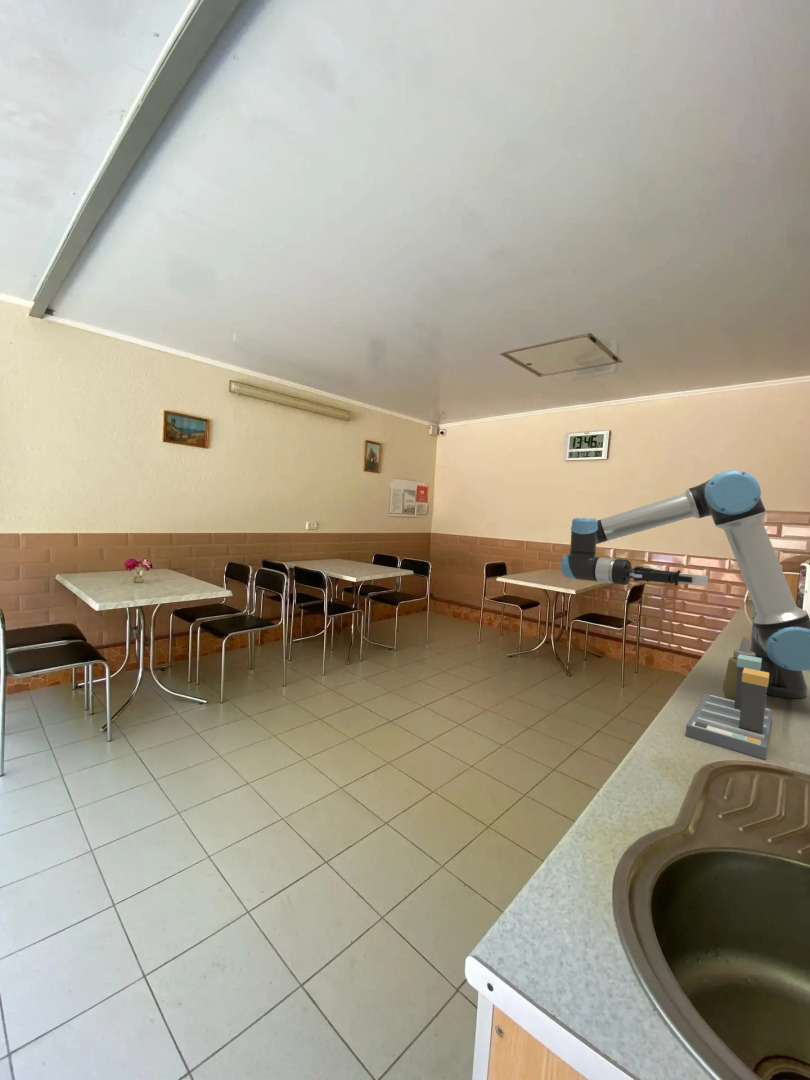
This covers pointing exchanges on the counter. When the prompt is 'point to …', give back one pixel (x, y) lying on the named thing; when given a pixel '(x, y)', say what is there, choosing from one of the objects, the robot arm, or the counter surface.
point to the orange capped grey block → (753, 700)
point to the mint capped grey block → (742, 663)
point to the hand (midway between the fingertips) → (707, 581)
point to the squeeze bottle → (735, 669)
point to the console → (726, 727)
